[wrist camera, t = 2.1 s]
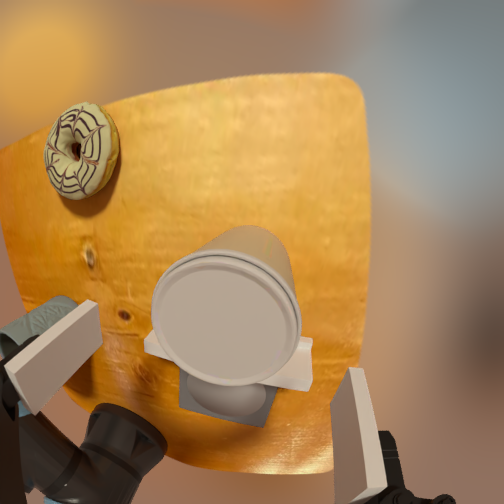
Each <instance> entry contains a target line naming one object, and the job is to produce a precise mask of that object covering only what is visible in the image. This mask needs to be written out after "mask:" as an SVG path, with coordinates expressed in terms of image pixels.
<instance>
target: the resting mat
mask: <svg viewBox="0 0 504 504" xmlns="http://www.w3.org/2000/svg"><path fill="white" fill-rule="evenodd" d="M277 389H278V387H276V386H271V385H265V384H260V383H254V384H250V385H244V386H223V385H217V384H212V383H209V382H206V381H203V380H201V379H198V378H196V377H194V376H192V375H191V374H189V373H187V372H186V371H184V370H183V369H182V368H180V391H179V407H180V408H184V409H187V410H190V411H194V412H197V413H201V414H204V415H208V416H212V417H216V418H220V419H224V420H228V421H232V422H237V423H242V424H246V425H251V426H257V427H262V428H263V427H264V425H265V422H266V419H267V417H268V414H269V411H270V409H271V406H272V403H273V400H274V397H275V395H276V392H277Z"/></svg>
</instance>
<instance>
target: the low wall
mask: <svg viewBox="0 0 504 504" xmlns="http://www.w3.org/2000/svg"><path fill="white" fill-rule="evenodd" d="M312 344H313V341H312V338H308V337H302V336H300V340H299V344H298V346H297V348H296V351H295V352H294V354H293V356H292V357H291V358H290V360H289V361H288V362H287V363H286V364H285V365H284V366H283V367H282V368H281V369H280V370H279V371H278V372H276V373H275V374H274V375H272V376H271V377H269V378H267V379H265V380H263V381H260V382H257V383H260V384H265V385H271V386H276V387H282V388H288V389H294V390H300V391H307V392H308V390H309V388H310V386H311V384H312V381H313V377H312V360H311V347H312ZM144 349H145V352H146V353H149V354H152V355H155V356H158V357H161V358H164V359H167V360H171V359H170V358H169V356H168V355H167V354H166V353H165V351H164V350H163V348H162V347H161V345H160V344H159V342H158V340H157V337H156V335H155V332H154V329H153V330H152V331H151V332H150V333H149V335H148V336H147V337H146V338H145V340H144ZM171 361H172V360H171Z"/></svg>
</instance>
